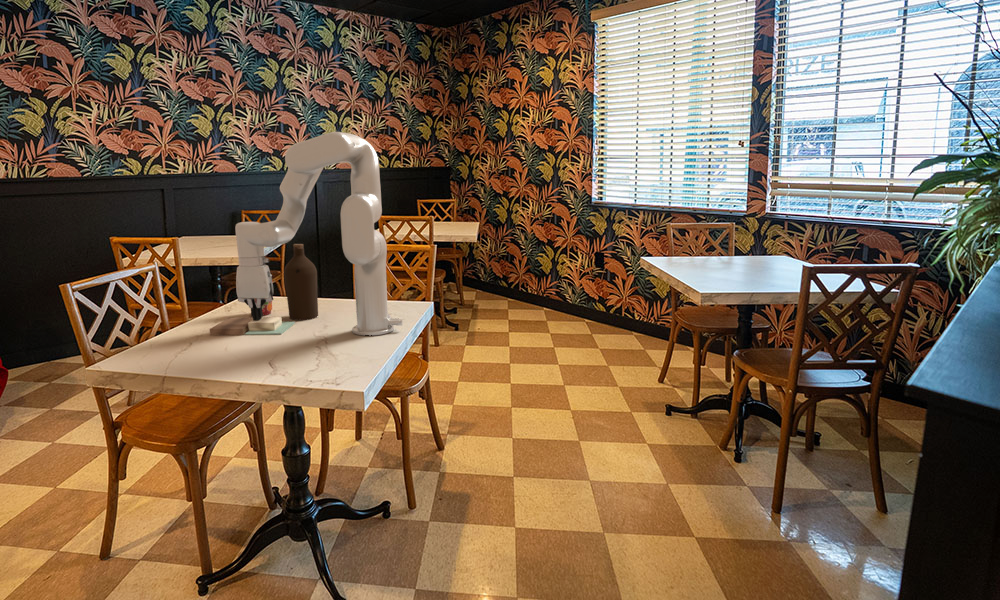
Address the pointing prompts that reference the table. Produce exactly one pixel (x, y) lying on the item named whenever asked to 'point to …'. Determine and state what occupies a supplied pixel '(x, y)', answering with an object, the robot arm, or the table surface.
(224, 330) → the deck
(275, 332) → the mat
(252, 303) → the robot arm
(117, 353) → the table surface
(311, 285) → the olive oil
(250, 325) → the tile
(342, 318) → the table surface
